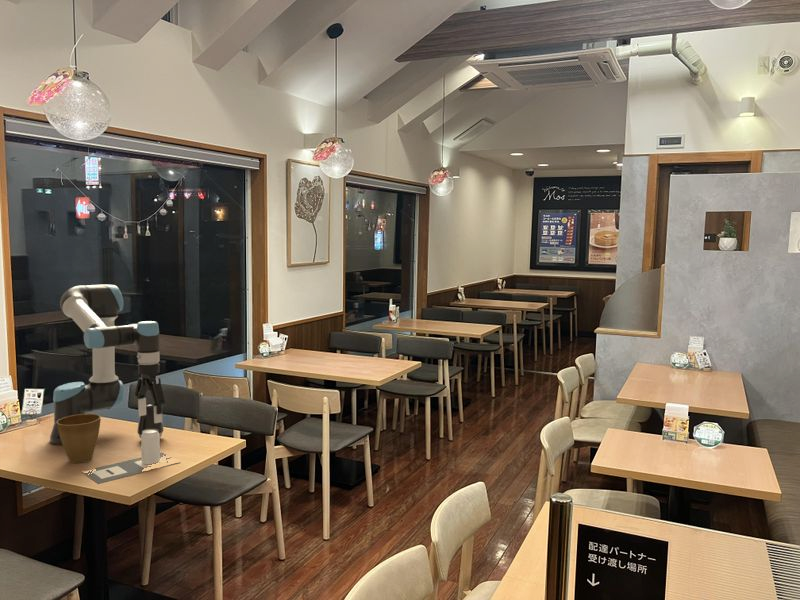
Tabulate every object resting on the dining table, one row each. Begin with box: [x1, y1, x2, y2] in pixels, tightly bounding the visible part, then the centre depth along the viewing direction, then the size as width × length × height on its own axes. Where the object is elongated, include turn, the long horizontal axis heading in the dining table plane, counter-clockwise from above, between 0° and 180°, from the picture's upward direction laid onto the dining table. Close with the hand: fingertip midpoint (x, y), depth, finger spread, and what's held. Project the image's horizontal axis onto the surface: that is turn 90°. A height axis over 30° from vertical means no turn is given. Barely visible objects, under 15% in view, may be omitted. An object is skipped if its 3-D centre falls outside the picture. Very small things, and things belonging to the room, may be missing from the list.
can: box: [140, 429, 161, 465], centre depth 234 cm, size 6×6×12 cm
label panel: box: [83, 452, 172, 485], centre depth 230 cm, size 16×30×1 cm, turn 136°
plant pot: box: [57, 413, 102, 464], centre depth 236 cm, size 15×15×16 cm
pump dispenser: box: [137, 403, 165, 439], centre depth 261 cm, size 10×10×15 cm
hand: (150, 419), depth 233 cm, fingers open, 13 cm apart
